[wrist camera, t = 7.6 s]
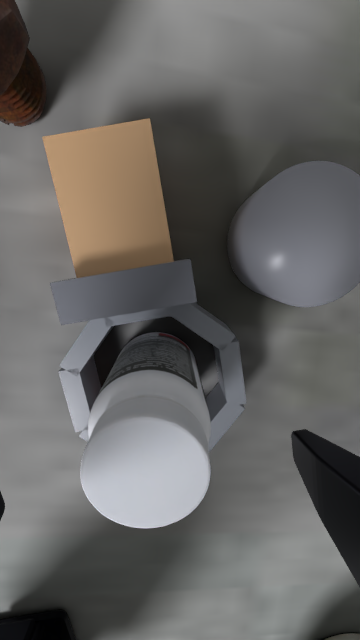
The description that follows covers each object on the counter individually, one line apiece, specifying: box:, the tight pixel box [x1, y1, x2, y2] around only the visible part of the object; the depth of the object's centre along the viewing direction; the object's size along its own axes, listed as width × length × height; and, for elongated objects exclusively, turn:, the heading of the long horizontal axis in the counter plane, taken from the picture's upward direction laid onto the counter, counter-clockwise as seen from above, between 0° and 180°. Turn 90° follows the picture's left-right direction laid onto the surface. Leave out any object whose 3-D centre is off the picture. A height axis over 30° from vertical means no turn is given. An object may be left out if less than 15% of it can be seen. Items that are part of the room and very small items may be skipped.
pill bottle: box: [80, 332, 211, 528], centre depth 12 cm, size 5×5×8 cm
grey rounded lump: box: [227, 161, 360, 307], centre depth 14 cm, size 6×6×4 cm
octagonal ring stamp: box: [42, 118, 247, 452], centre depth 13 cm, size 16×9×5 cm, turn 9°
